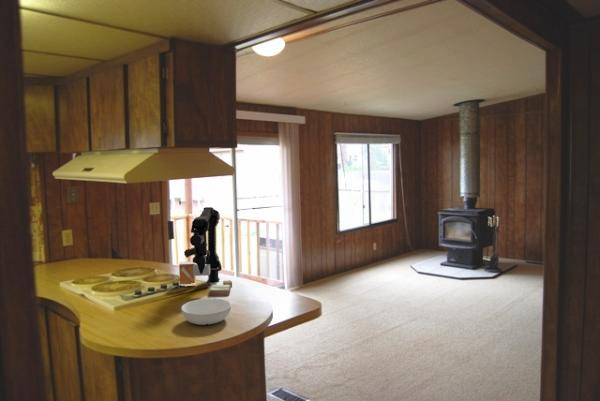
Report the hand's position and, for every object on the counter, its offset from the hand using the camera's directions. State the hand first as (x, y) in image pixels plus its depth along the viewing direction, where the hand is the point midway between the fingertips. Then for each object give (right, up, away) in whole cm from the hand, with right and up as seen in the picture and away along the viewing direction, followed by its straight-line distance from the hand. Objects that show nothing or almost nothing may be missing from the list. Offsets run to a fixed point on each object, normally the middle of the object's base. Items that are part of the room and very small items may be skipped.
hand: (201, 272), depth 240 cm
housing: (0, -1, 0) cm, 1 cm away
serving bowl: (+11, -15, -41) cm, 45 cm away
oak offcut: (+11, -10, +13) cm, 20 cm away
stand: (+9, -11, +1) cm, 14 cm away
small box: (-11, -10, +15) cm, 21 cm away
